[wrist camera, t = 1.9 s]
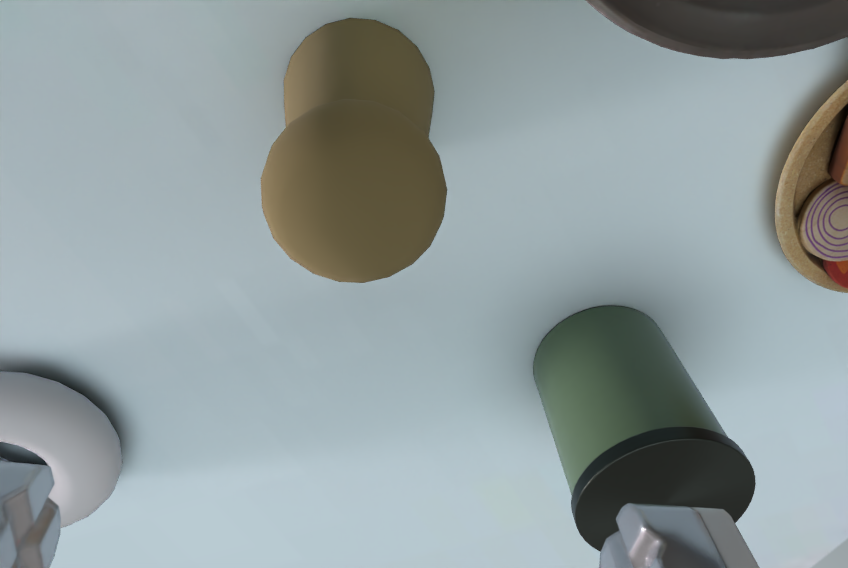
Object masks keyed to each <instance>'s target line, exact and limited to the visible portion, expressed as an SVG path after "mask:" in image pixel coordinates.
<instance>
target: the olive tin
mask: <svg viewBox="0 0 848 568" xmlns="http://www.w3.org/2000/svg"><path fill="white" fill-rule="evenodd" d="M533 373H534V378H535V382H536V385H537V388H538V391H539V395H540V398H541V401H542V404H543V407H544V410H545V413H546V416H547V420H548V423H549V426H550V429H551V432H552V435H553V438H554V441H555V445H556V448H557V451H558V454H559V457H560V460H561V463H562V467H563V470H564V473H565V476H566V479H567V482H568V485H569V488H570V492H571V495H572V500H571V507H572V513H573V516H574V520H575V523H576V526H577V529H578V531H579V533H580V535H581V536H582V537H583V538H584V540H585V541H586V542H587V543H588V544H590V545H591V546H592V547H594V548H595V549H597V550H598V551H600V552H601V550H602V548H603V545H604V543H605V541H606V538H608V537H609V536H611V535H612V534H614V533H616V532H617V531H619V527H618V524H617V521H616V517H617V515H618V514H619V512H620V510H621V508H622V507H623V506H625V505H626V504H628V503H635V504H654V505H673V506H687V507H698V508H713V509H724V510H725V511H726V512H727V513H728V514H729V515H730V516H731V517H732V519H733V521H734V522H735V523H736V522H737V520H738V519H739V518H740V517H741V516H742V515H743V513H744V512H745V511H746V509H747V508H748V506H749V504H750V502H751V500H752V497H753V494H754V490H755V475H754V471H753V468H752V466H751V464H750V462H749V460H748V459H747V457H746V456H745V454H744V452H743V451H742V450H741V449H740V447H739V446H738V445H737V444H736V443H735V442H734V441H732V440H731V439H729V438H728V437H727V435H726V433H725V432H724V430H723V429H722V427H721V425H720V424H719V422H718V421H717V419H716V417H715V416H714V414H713V413H712V411H711V409H710V408H709V406H708V405H707V403H706V401H705V400H704V398H703V397H702V395H701V393H700V392H699V390H698V389H697V387H696V385H695V384H694V382H693V381H692V379H691V377H690V376H689V374H688V373H687V371H686V369H685V368H684V366H683V365H682V363H681V361H680V360H679V358H678V357H677V355H676V353H675V352H674V350H673V349H672V347H671V345H670V344H669V342H668V341H667V339H666V337H665V336H664V334H663V333H662V331H661V329H660V328H659V327H658V325H657V324H656V323H655V322H654V321H653V320H652V319H651V318H650V317H648V316H647V315H645V314H644V313H641V312H639V311H637V310H634V309H631V308H627V307H621V306H603V307H597V308H592V309H588V310H585V311H582V312H579V313H577V314H575V315H573V316H571V317H569V318H567V319H565V320H564V321H562V322H561V323H559V324H558V325H557V326H556V327H555V328H553V329H552V330H551V331H550V332H549V333H548V334H547V336H546V337H545V338H544V340H543V341H542V342H541V344H540V346H539V348H538V350H537V352H536V355H535V359H534V365H533Z"/></svg>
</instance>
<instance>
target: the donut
mask: <svg viewBox="0 0 848 568" xmlns="http://www.w3.org/2000/svg"><path fill="white" fill-rule="evenodd" d="M0 442H5V443H9V444H13V445H17V446H21V447H23V448H25V449H27V450H29V451H31V452H34V453H36V454H37V455H38V456H39V457H41V458H42V459H43V460H44V461H45V462H46V463H47V465H48V466H51V469H52V474H53V478H54V482H55V484H54V486H53V488H52V490H51V492H50V494H49V496H48V497H49V498H50V499H51V500H53V501H54V502H55V503H56V504H57V505H58V506H59V509H60V516H61V527H60V528H63V527H66V526H68V525H71V524H73V523H75V522H77V521H79V520H81V519H84V518H86V517H88V516H89V515H90V514H92V513H93V512H94V511H96V510H97V509H98V508H99V507H100V506H101V505H102V504H103V503H104V502H105V501H106V500H107V499H108V498H109V497H110V495H111V494H112V492H113V491H114V489H115V486H116V483H117V481H118V478H119V475H120V472H121V469H122V463H123V461H122V454H121V447H120V441H119V437H118V434H117V433H116V431H115V429H114V428H113V426H112V424H111V423H110V421H109V419H108V418H107V416H106V415H105V414H104V413H103V412H102V411H101V410H100V409H99V408H98V407H96V406H95V405H94V404H93V403H92V402H91V401H90V400H89V399H87V398H86V397H85V396H84V395H82V394H80V393H78V392H76V391H74V390H72V389H70V388H69V387H67V386H65V385H63V384H61V383H59V382H57V381H53V380H50V379H46V378H43V377H39V376H35V375H32V374H28V373H21V372H4V371H0ZM0 461H5V462H11V461H9V460H6V459H4V458H2V457H0Z"/></svg>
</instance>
